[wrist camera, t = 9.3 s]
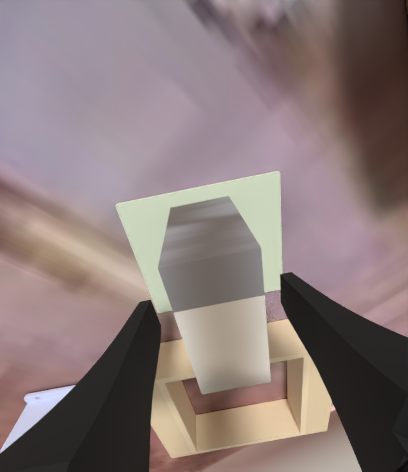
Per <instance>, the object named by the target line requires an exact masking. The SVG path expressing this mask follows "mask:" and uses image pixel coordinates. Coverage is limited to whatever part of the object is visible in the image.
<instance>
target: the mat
mask: <svg viewBox="0 0 408 472" xmlns="http://www.w3.org/2000/svg"><path fill="white" fill-rule="evenodd" d="M226 196H229V197H230V199H231V200H232V202H233V203H234V205H235V207H236V208H237V210H238V211H239V213H240V215H241V216H242V218H243V219H244V221H245V223H246V224H247V226H248V227H249V229H250V231H251V232H252V234H253V235H254V237H255V239H256V240H257V242H258V243H259V245H260V247H261V252H262V266H263V280H264V293H266V292H271V291H277V290H281V288H280V274H282V235H281V189H280V172H279V171H274V172H269V173H264V174H259V175H254V176H249V177H244V178H239V179H235V180H230V181H225V182H220V183H215V184H210V185H205V186H200V187H195V188H190V189H186V190H181V191H176V192H171V193H166V194H161V195H156V196H151V197H146V198H141V199H137V200H132V201H127V202H122V203H117V204H116V205H115V207H116V209H117V212H118V214H119V217H120V219H121V222H122V224H123V227H124V229H125V232H126V234H127V237H128V239H129V242H130V244H131V247H132V249H133V252H134V254H135V257H136V259H137V262H138V265H139V267H140V270H141V272H142V275H143V277H144V280H145V282H146V285H147V287H148V290H149V292H150V295H151V297H152V300H153V302H154V305H155V307H156V310H157V312H158V313H162V312H168V311H173V310H172V308H171V305H170V302H169V299H168V296H167V293H166V290H165V287H164V285H163V282H162V279H161V276H160V273H159V270H158V264H159V260H160V255H161V250H162V245H163V241H164V236H165V231H166V226H167V222H168V217H169V212H170V208H171V207H176V206H181V205H186V204H191V203H196V202H201V201H206V200H211V199H216V198H221V197H226Z"/></svg>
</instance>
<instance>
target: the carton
mask: <svg viewBox="0 0 408 472" xmlns="http://www.w3.org/2000/svg"><path fill="white" fill-rule="evenodd" d="M267 335H268V348H269V362H270V363H276V362H281V361H287V399H281V400H276V401H270V402H265V403H259V404H254V405H248V406H243V407H237V408H232V409H226V410H221V411H215V412H210V413H204V414H199V415H196V414H195V412H194V409H193V407H192V404H191V402H190V400H189V397H188V395H187V392H186V390H185V387H184V385H183V382H182V380H184V379H190V378H195V377H196V376H195V373H194V370H193V368H192V365H191V362H190V359H189V356H188V353H187V350H186V348H185V345H184V342H183V339H179V340H174V341H169V342H164V343H160V350H159V357H158V364H157V372H156V377H155V383H154V390H153V398H152V412H151V426H152V427H153V429H154V431H155V432H156V434H157V435H158V437H159V439H160V440H161V442H162V443H163V445H164V447H165V448H166V450H167V451H168V453H169V455H170V456H171V458H176V457H182V456H187V455H193V454H199V453H204V452H210V451H216V450H221V449H227V448H232V447H238V446H244V445H249V444H255V443H260V442H266V441H271V440H277V439H282V438H288V437H294V436H299V435H305V434H311V433H316V432H322V431H327V427H328V421H329V415H330V409H331V403H332V400H331V398H330V396H329V394H328V391H327V389H326V387H325V385H324V383H323V381H322V379H321V377H320V374H319V372H318V370H317V368H316V366H315V364H314V363H313V361H312V359H311V357H310V356H309V354H308V352H307V350H306V349H305V347H304V345H303V344H302V342H301V340H300V339H299V337H298V335H297V333H296V332H295V330H294V328H293V327H292V325H291V323H290V321H289V320H288V319H285V320H280V321H274V322H269V323H267Z"/></svg>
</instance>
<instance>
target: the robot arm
mask: <svg viewBox="0 0 408 472" xmlns="http://www.w3.org/2000/svg"><path fill="white" fill-rule="evenodd" d="M280 288H281V304H282V306H283V308H284V311H285V313H286V315H287V317H288V320H289V321H290V323H291V325H292V327H293V328H294V330H295V332H296V333H297V335H298V337H299V339H300V340H301V342H302V344H303V345H304V347H305V349H306V350H307V352H308V354H309V356H310V357H311V359H312V361H313V363H314V364H315V366H316V368H317V370H318V372H319V374H320V377H321V379H322V381H323V383H324V385H325V387H326V389H327V391H328V394H329V396H330V398H331V400H332V402H333V405H334V407H335V409H336V411H337V413H338V416H339V418H340V420H341V422H342V425H343V427H344V429H345V432H346V434H347V436H348V439H349V441H350V443H351V446H352V448H353V450H354V453H355V455H356V457H357V460H358V463H359V465H360V467H361V470H362V472H408V337H405V336H403V335H400V334H398V333H396V332H394V331H391V330H389V329H387V328H384V327H382V326H380V325H378V324H376V323H374V322H372V321H369V320H368V319H366V318H364V317H362V316H360V315H358V314H356V313H354V312H352V311H350V310H348V309H347V308H345V307H343V306H341V305H340V304H338V303H336V302H335V301H333V300H331V299H330V298H328V297H327V296H325V295H324V294H322V293H321V292H319V291H317V290H316V289H315V288H313V287H312V286H310V285H309V284H307V283H306V282H304V281H303V280H302V279H300V278H299V277H297V276H296V275H295V274H293V273H292V272H290V273H285V274H280ZM160 341H161V324H160V322H159V319H158V317H157V314H156V312H155V309H154V307H153V304H152V302H151V300H147V301H142V302H140V303H139V304H138V305H137V307H136V308H135V310H134V311H133V313H132V314H131V316H130V317H129V319H128V320H127V322H126V323H125V325H124V326H123V328H122V329H121V331H120V332H119V334H118V335H117V336H116V338H115V339H114V341H113V342H112V343H111V344H110V346H109V347H108V348H107V350H106V351H105V352H104V354H103V355H102V356H101V357H100V359H99V360H98V361H97V362H96V363H95V365H94V366H93V367H92V368H91V369H90V370H89V371H88V373H87V374H86V375H85V376H84V377H83V378H82V379H81V380H80V381H79V382H78V383H77V384H76V385H72V386H66V387H61V388H56V389H50V390H45V391H40V392H34V393H29V394H27V395H26V396H25V397H24V401H25V402H27V403H28V404H27V405H26V407H25V409H24V411H23V412H22V414H21V416H20V417H19V419H18V421H17V423H16V424H15V426H14V428H13V429H12V431H11V433H10V435H9V436H8V438H7V440H6V441H5V443H4V445H3V447H2V448H1V450H0V472H149V452H150V430H151V412H152V398H153V390H154V383H155V376H156V370H157V364H158V357H159V350H160Z"/></svg>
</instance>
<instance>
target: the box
mask: <svg viewBox="0 0 408 472" xmlns="http://www.w3.org/2000/svg"><path fill="white" fill-rule="evenodd" d="M158 270H159V273H160V276H161V279H162V282H163V285H164V287H165V290H166V293H167V296H168V299H169V302H170V305H171V308H172V310H173V313H174V316H175V319H176V322H177V325H178V328H179V330H180V333H181V336H182V339H183V342H184V345H185V348H186V350H187V353H188V356H189V359H190V362H191V365H192V368H193V370H194V373H195V376H196V379H197V382H198V385H199V388H200V390H201V393H202V395H203V394H208V393H214V392H219V391H224V390H230V389H235V388H241V387H246V386H252V385H257V384H263V383H268V382H271V376H270V362H269V348H268V335H267V321H266V307H265V294H264V280H263V266H262V252H261V247H260V245H259V243H258V242H257V240H256V239H255V237H254V235H253V234H252V232H251V231H250V229H249V227H248V226H247V224H246V223H245V221H244V219H243V218H242V216H241V215H240V213H239V211H238V210H237V208H236V207H235V205H234V203H233V202H232V200H231V199H230V197H229V196H226V197H221V198H216V199H211V200H206V201H201V202H196V203H191V204H186V205H181V206H176V207H171V208H170V212H169V217H168V222H167V226H166V231H165V236H164V241H163V245H162V250H161V255H160V260H159V264H158Z"/></svg>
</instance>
